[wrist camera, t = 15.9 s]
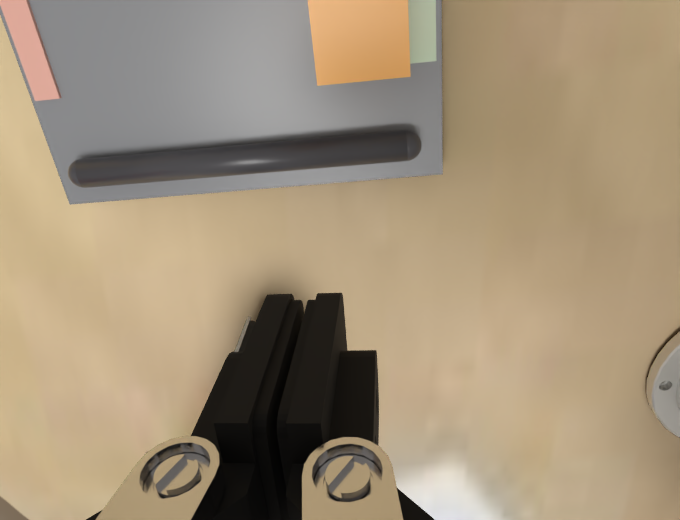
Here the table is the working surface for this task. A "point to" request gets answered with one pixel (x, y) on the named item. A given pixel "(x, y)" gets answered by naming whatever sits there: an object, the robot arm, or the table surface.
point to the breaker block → (216, 98)
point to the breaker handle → (359, 40)
